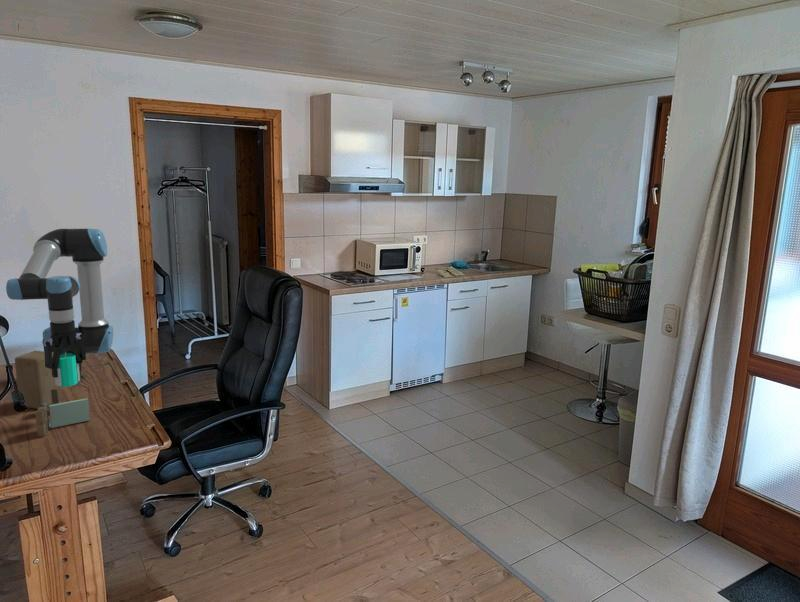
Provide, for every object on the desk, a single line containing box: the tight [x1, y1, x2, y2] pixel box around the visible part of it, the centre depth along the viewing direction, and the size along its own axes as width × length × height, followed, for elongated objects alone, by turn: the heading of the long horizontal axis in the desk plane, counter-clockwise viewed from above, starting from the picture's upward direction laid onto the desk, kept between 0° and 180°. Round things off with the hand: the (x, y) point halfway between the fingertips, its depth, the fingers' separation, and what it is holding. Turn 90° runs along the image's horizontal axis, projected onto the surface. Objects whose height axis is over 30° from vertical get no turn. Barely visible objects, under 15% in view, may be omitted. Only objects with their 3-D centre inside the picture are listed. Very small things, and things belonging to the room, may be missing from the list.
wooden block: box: [14, 350, 57, 410], centre depth 219 cm, size 10×10×20 cm
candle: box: [58, 352, 79, 388], centre depth 206 cm, size 6×6×12 cm
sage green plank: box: [48, 397, 91, 429], centre depth 203 cm, size 12×1×8 cm, turn 128°
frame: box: [34, 386, 63, 438], centre depth 205 cm, size 25×2×10 cm, turn 18°
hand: (68, 382), depth 207 cm, fingers closed on candle, 6 cm apart
